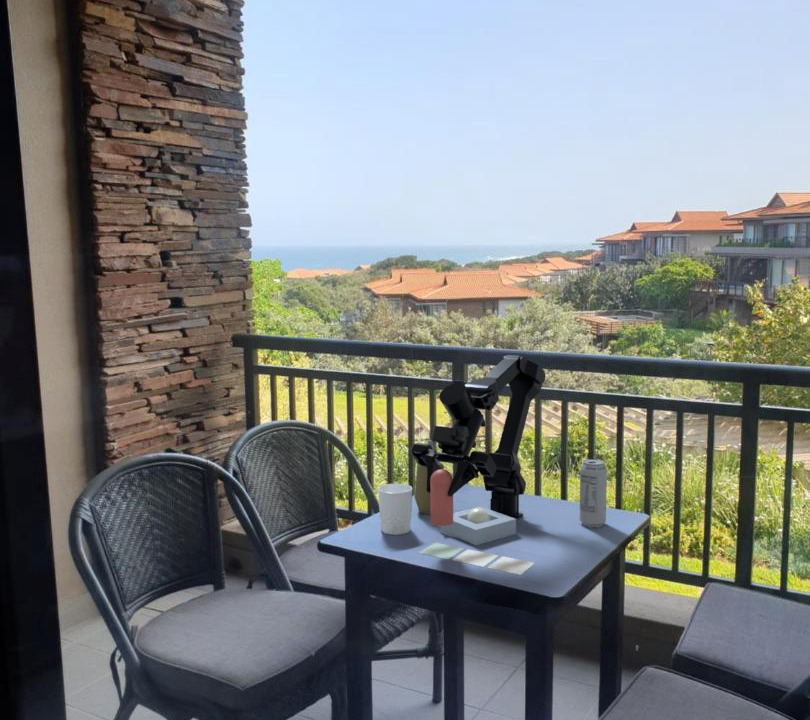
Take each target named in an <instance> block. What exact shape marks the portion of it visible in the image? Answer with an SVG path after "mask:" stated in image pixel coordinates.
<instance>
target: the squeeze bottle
mask: <svg viewBox="0 0 810 720" xmlns="http://www.w3.org/2000/svg"><path fill="white" fill-rule="evenodd" d="M426 444H429V445H430V446H431V447H432V448H433V450H435V445H434V441H432V439H428V440H427V443H426ZM435 451H436V450H435ZM439 466H440V468H441V469H444V470H445V467H444V464H443V462H440V465H439ZM415 478H416V479H415V486H414V487H415V488H414V495H413V496H414V500H415V502H416V503H415V504H416V505H417V508H418V509H417V510H418V512H419V513H421V514H423V515H424V514H425V515H431V507H430V493H428V492H427V490H426V489H427V467H423V466H420V465H418V464H417V466H416V476H415Z"/></svg>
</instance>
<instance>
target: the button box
mask: <svg viewBox="0 0 810 720" xmlns="http://www.w3.org/2000/svg"><path fill="white" fill-rule="evenodd" d="M476 508H480V509H483V510H485V511H486V512H487V513H488V515H489V521H487V522H484V523H480V524H475V523H473V522H470V521H467V517H468V514H469V513H470V511H472V510H473V509H476ZM440 534H443V535H444V534H445V536H446V537H449V536H450V537H449V538H458V539H460V540H462V541H465V542H467V543H469V544H472V545H474V546H478V545H482V544H485V543H489V542H492V541H496V540H499V539H503V538H506V537H510V536H514V535H517V518H512V517H509V516H506V515H504V514H501V513H498V512H495V511H492V510H490V508H486V507H483V506H477V507H476V506H475V507H473V508H468V509H464V510H461V511H456V512H453V524H451V525H448V526H440Z"/></svg>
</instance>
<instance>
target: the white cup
mask: <svg viewBox="0 0 810 720" xmlns="http://www.w3.org/2000/svg"><path fill="white" fill-rule="evenodd" d="M377 489H378V490H377V491H378V507H379V508H378V509H379V518H380V530H381V532H382V533H384V534H386V535H390V536H391V535H392V536H393V535H395V536H398V535H400V536H401V535H405V534H408V533H409V532H410V531H411V523H412V522H411V521H412V520H411V519H412V510H413V509H412V508H413V487H412V486H411V485H410V484H406V483H405V484H404V483H387V484H383V485H381V486H379V487H378V488H377Z"/></svg>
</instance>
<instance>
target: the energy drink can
mask: <svg viewBox="0 0 810 720" xmlns="http://www.w3.org/2000/svg"><path fill="white" fill-rule="evenodd" d="M579 469H580V470H579V471H580V473H579V474H580V476H579V477H580V478H579V521H580V522H581V525H582V526H584V527H586V526H587V527H588V528H593V527H597V528H601V527H600V526H602V525H603V526H604V524H605V523H606V522H607V488H608V487H607V485H608V484H607V483H608V482H607V480H608V476H607V475H608V469H607V467H606V465H605V461H603V460H602V459H596V458H595V459H591V458H588V459H584V460H583V463H582V464H581V467H580V468H579ZM603 526H602V527H603ZM587 527H586V528H587Z"/></svg>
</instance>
